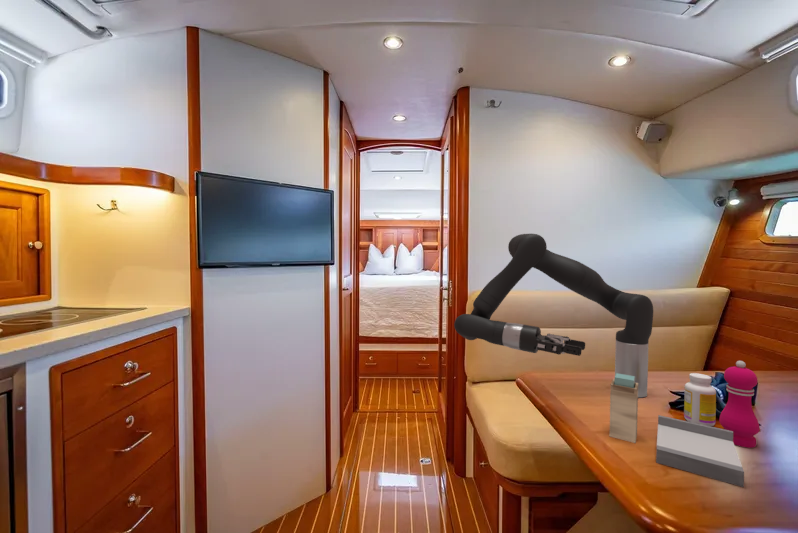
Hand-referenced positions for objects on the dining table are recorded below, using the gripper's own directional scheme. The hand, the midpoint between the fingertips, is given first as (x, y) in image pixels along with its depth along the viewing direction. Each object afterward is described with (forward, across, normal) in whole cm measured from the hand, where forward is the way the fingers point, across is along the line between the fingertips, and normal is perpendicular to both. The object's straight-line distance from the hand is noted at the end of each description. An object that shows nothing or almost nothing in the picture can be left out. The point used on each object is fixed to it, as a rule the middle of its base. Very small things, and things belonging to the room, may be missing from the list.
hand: (583, 348), depth 96 cm
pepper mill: (+35, +13, +18) cm, 41 cm away
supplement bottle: (+28, +21, +18) cm, 40 cm away
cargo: (+10, 0, +8) cm, 13 cm away
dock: (+25, -3, +19) cm, 31 cm away
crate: (+11, 0, +20) cm, 23 cm away
